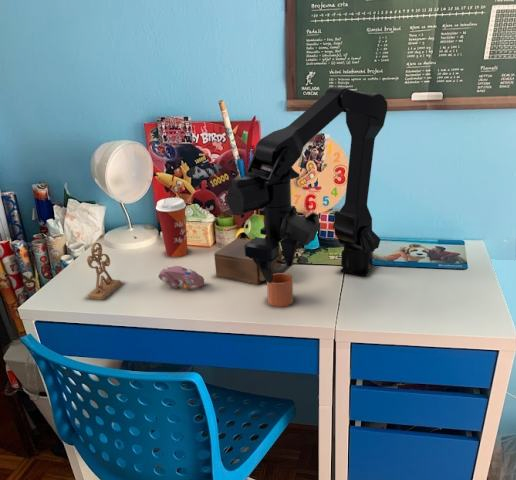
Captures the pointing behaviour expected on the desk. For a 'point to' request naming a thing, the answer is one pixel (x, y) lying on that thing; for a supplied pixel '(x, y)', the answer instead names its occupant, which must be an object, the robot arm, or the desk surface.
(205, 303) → the desk surface
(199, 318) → the desk surface
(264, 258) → the robot arm
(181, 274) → the purple toy car
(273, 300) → the cup
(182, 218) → the paper cup
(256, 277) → the cabinet
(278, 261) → the drawer
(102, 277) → the wooden figurine
